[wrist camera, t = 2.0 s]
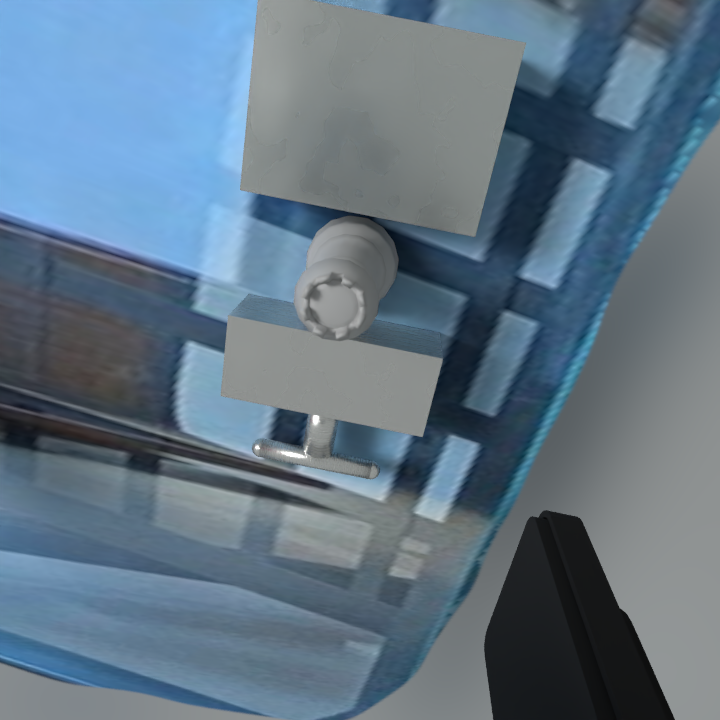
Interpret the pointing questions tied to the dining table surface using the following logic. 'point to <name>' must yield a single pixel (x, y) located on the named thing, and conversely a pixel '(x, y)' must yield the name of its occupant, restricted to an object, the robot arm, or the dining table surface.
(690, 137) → the dining table surface
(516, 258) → the dining table surface
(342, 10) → the bench vise
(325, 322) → the rook chess piece
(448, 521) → the dining table surface
